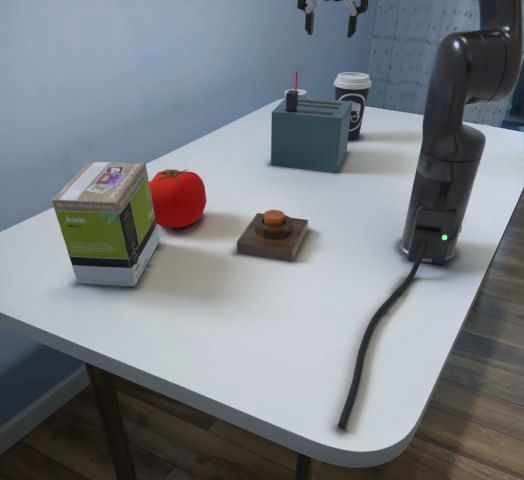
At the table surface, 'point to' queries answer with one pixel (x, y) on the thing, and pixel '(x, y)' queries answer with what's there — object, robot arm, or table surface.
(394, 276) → the table surface
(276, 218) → the button
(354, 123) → the coffee cup
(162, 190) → the tomato
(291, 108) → the slider
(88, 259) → the tea box
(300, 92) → the beverage cup
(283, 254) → the block
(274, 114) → the toaster
